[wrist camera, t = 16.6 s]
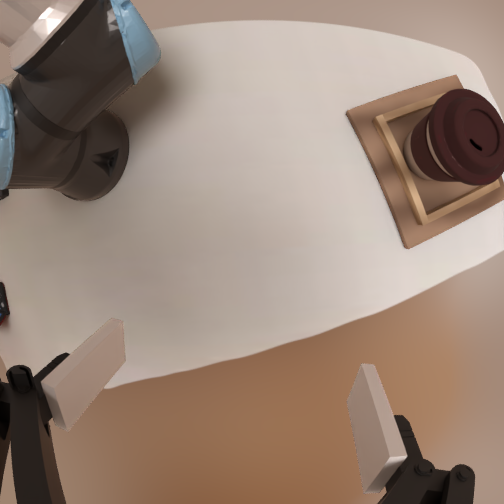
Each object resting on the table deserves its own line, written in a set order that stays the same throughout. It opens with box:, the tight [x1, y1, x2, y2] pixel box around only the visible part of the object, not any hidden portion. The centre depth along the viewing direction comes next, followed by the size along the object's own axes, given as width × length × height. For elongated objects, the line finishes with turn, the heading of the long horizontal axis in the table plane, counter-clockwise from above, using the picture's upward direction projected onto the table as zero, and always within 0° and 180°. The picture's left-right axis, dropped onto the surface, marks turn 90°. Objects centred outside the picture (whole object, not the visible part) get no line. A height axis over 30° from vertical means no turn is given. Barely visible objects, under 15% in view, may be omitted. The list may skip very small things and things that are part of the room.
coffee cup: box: [404, 89, 504, 186], centre depth 28 cm, size 10×10×15 cm
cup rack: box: [346, 75, 504, 249], centre depth 35 cm, size 20×20×4 cm
